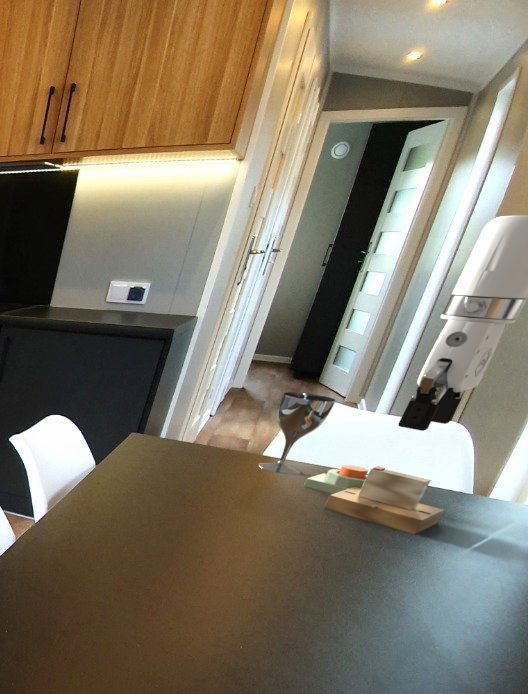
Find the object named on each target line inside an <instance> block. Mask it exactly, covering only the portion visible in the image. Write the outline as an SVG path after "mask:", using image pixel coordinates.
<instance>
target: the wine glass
mask: <svg viewBox="0 0 528 694" xmlns="http://www.w3.org/2000/svg"><path fill="white" fill-rule="evenodd" d="M336 401H337V400H336V399H335V398H333V397H329V396H324V395H322V394H321V395H319V394H314V393H308V392H298V391H297V392H295V391H294V392H292V391H288V392H284V393H283V395H282V398H281V399H280V403H279V405H278V409H277V416H276V418H277V419H276V421H277V423H278V426H279V428H280V430H281V431H282V433H283V436H284V439H285V442H284V448H283V450H282V454H281V456H280V458H279V460H278V461H277V462H259V463H258V464H257V467H259V468H261V469H263V470H266V471H269V472H272V473H273V472H274V473H278V474H284V475H300V474H301V470H299V469H297V468H296V467H295V468H294V467H292V466H290V465H289V466H288V465H287V464H286V463H285V462H286V459H287V457H288V454H289V453H290V451H291V448H292V447H293V446H294V444H296V442H297V441H298V440H300V439H301V438H304V437H306V436H307V435H309V434H311V433H312V432H314V431H316V430H318V429H319V428H320V427H322V425H323V424H324V422H325V421H326V420H327V418H328V417H329V415H330V414H331V411H332V410H333V408H334V406H335V403H336Z"/></svg>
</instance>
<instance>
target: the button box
mask: <svg viewBox="0 0 528 694" xmlns="http://www.w3.org/2000/svg"><path fill="white" fill-rule="evenodd" d="M340 470H341V468H332V469H328V470H327V473H324V472H323V473H319V474H316V475H314V476H313V475H312V476H311V477H307V478H306V480H305V482H304V484H303V487H304V488H307V489H311V490H316V491H320V492H323V493H327V494H329V495H332V494H335V493H337V492H340V491H343V490H346V489H349V488H352V487H357V488H362V486H363V484H364V482H365V480H366V478H367V476H368V473H367V474H366V476H365V478H364V479H358V478H351V477H347V476H343V475H341V474H339V472H340Z"/></svg>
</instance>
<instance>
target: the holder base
mask: <svg viewBox="0 0 528 694" xmlns="http://www.w3.org/2000/svg"><path fill="white" fill-rule="evenodd" d="M360 490H361V488H357V487H352V488H349V489H346V490H343V491H340V492H337V493H335V494H329V495H328V498H327V500H326V502H325V504H324V507H323V509H326V510H328V511H331V512H336V513H338V514H343V515H346V516H350V517H354V518H356V519H360V520H364V521H366V522H371V523H375V524H378V525H381V526H385V527H389V528H392V529H395V530H400V531H403V532H406V533H409V534H413V535H416V534H418V533H420V532H422V531H425V530H426V529H428V528H430V527H432V526H434V525H437V524H438V523H439V521H440V518H442V516H443V514H444V512H445V509H443V508H439V507H436V506H431V505H427V504H424V503H420V502H419V503H418V505H417V507H416V508H415V509H412V510H408V509H404V508H401V507H397V506H393V505H389V504H386V503H382V502H378V501H374V500H371V499H367V498H363V497H359V496H358V494H359V492H360Z"/></svg>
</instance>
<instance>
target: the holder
mask: <svg viewBox="0 0 528 694" xmlns="http://www.w3.org/2000/svg"><path fill="white" fill-rule="evenodd" d="M367 475H368V476H367V478H366V480H365V482H364V484H363V486H362V488H361V490H360V492H359V494H358V496H359V497H363V498H367V499H371V500H374V501H378V502H382V503H386V504H389V505H393V506H397V507H401V508H404V509H408V510H412V509H415V508H416V507H417V505H418V503H420V501H421V499H422V498H423V496H424V494H425V492H426V490H427V488H428V486H429V485H430V483H431V481H432V480H431V479H428V478H424V477H420V476H416V475H411V474H406V473H402V472H399V471H394V470H389V469H386V467H381V466H375V467H373V468H370V470H369V471H368V473H367Z"/></svg>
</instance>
